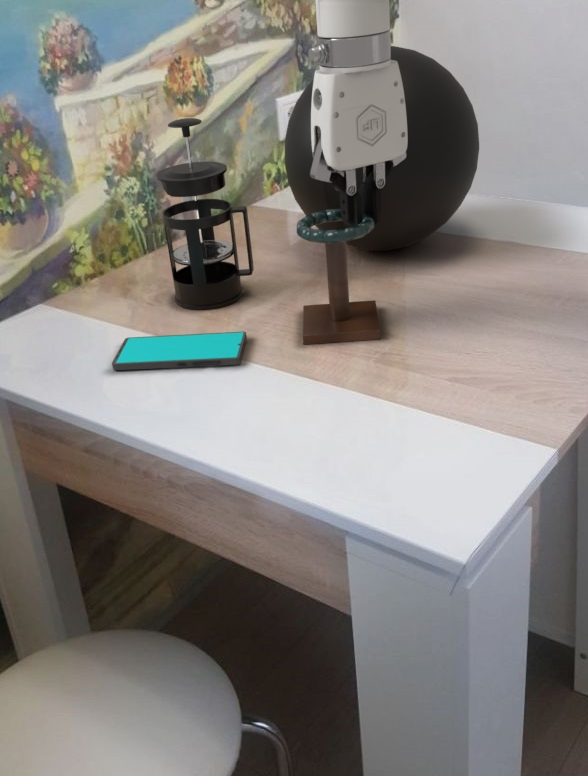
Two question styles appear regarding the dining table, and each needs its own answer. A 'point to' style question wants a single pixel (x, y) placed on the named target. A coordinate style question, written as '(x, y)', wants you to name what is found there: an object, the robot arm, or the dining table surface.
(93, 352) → the dining table surface
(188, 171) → the french press
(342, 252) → the brown peg stand
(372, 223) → the ring
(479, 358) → the dining table surface
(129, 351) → the smartphone
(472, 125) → the ball
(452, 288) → the dining table surface
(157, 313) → the dining table surface
